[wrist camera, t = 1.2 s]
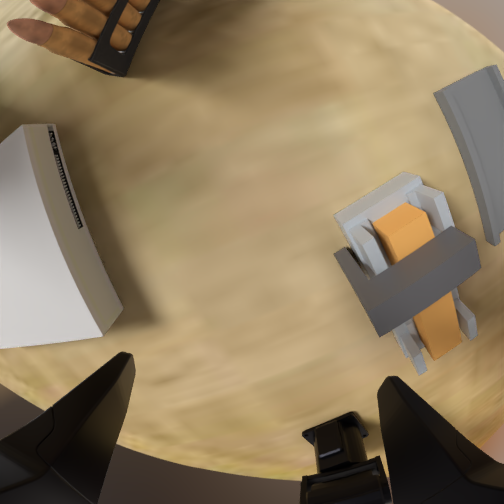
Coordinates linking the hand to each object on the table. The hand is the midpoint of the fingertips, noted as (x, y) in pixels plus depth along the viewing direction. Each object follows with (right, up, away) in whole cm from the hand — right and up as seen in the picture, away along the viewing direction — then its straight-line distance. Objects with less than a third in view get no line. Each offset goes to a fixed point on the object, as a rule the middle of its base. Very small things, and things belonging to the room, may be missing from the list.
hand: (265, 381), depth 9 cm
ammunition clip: (-9, +22, +6) cm, 24 cm away
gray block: (+9, +5, +12) cm, 16 cm away
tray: (+20, +13, +8) cm, 26 cm away
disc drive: (-25, +4, +14) cm, 29 cm away
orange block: (+12, +2, +10) cm, 16 cm away
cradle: (+12, +3, +12) cm, 17 cm away
